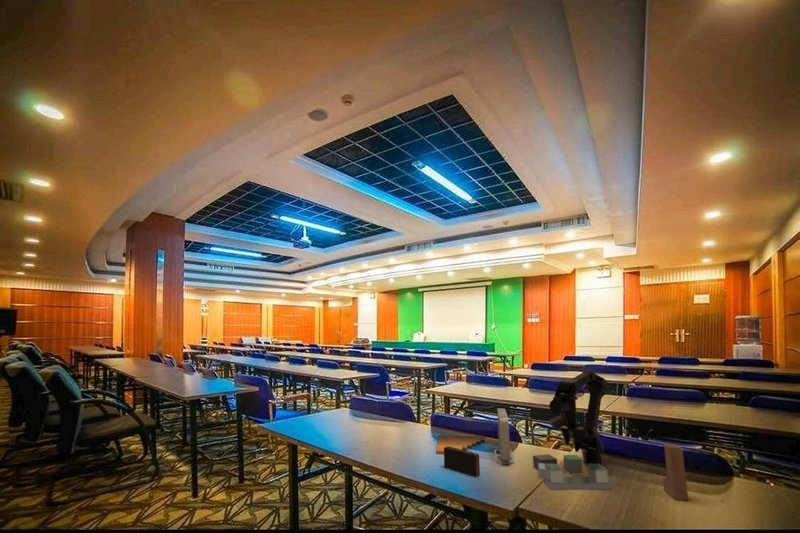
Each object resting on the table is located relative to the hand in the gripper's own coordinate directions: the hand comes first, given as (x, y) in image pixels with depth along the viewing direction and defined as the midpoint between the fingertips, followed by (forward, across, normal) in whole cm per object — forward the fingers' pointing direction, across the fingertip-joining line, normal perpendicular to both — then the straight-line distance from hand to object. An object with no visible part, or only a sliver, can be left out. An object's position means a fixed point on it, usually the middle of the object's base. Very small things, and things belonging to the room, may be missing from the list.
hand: (572, 448), depth 166 cm
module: (+10, 0, 0) cm, 10 cm away
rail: (+9, +15, -6) cm, 19 cm away
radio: (+10, -1, -49) cm, 50 cm away
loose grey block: (+10, -3, -11) cm, 15 cm away
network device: (+10, -19, -25) cm, 33 cm away
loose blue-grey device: (+10, +5, -14) cm, 18 cm away
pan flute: (+10, -34, -43) cm, 55 cm away
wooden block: (+10, +24, +27) cm, 37 cm away
